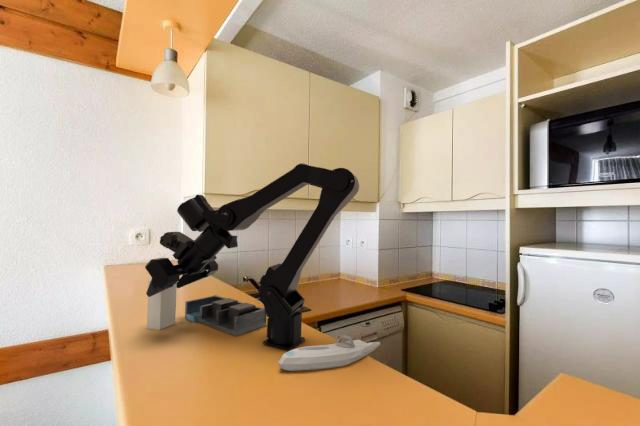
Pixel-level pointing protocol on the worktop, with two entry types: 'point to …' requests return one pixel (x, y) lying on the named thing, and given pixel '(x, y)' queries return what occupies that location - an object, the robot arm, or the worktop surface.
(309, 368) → the white toy boat
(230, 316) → the rack
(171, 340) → the worktop surface
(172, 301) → the white rectangular block
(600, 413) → the worktop surface
